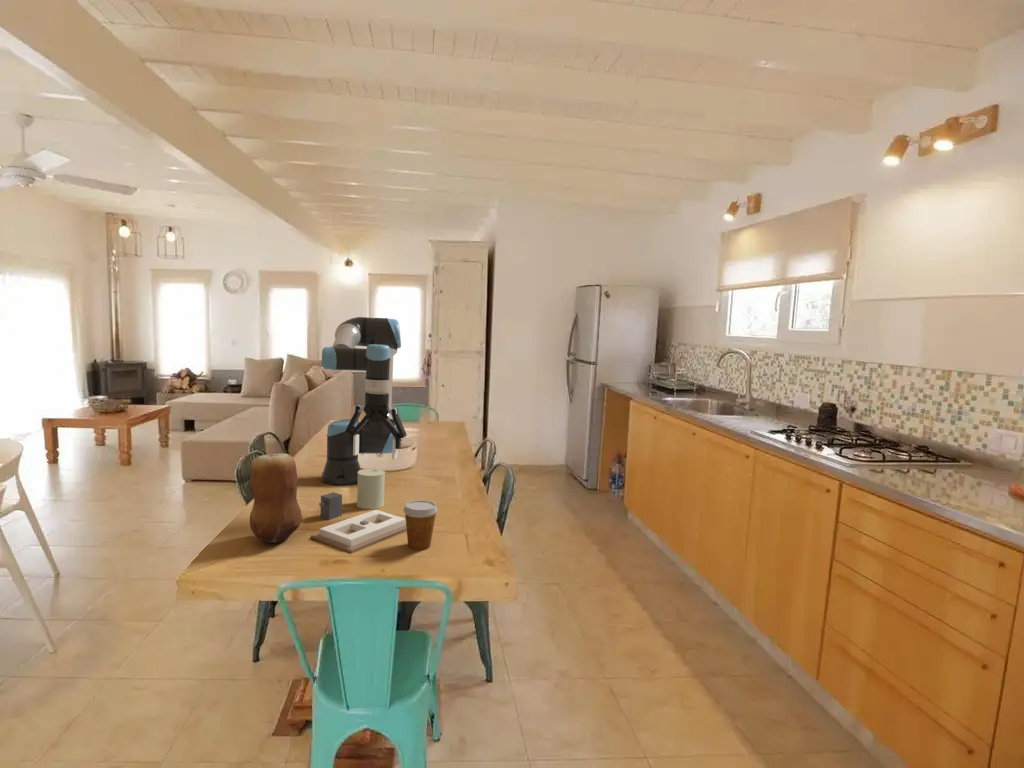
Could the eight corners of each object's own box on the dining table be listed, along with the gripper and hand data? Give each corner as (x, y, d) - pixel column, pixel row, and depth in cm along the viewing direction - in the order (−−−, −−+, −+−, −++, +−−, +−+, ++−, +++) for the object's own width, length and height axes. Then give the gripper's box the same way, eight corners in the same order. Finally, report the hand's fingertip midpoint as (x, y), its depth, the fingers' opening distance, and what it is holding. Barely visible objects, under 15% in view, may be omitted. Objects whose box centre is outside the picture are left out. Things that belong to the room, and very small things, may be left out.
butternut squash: (263, 530, 170) (263, 447, 167) (308, 533, 169) (309, 449, 167) (239, 549, 156) (239, 458, 153) (288, 552, 156) (289, 461, 153)
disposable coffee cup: (404, 539, 169) (405, 499, 168) (436, 539, 170) (438, 500, 168) (400, 552, 160) (401, 510, 158) (435, 552, 160) (437, 511, 159)
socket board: (310, 537, 166) (310, 526, 166) (374, 515, 187) (374, 505, 187) (351, 553, 157) (352, 541, 157) (414, 527, 178) (414, 517, 178)
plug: (315, 518, 182) (316, 497, 181) (333, 513, 187) (333, 492, 186) (324, 521, 179) (324, 499, 179) (341, 516, 185) (342, 494, 184)
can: (389, 503, 200) (390, 469, 199) (374, 511, 191) (375, 475, 190) (366, 499, 203) (367, 465, 202) (351, 506, 194) (351, 472, 193)
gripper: (335, 390, 186) (334, 455, 188) (409, 396, 181) (407, 462, 184) (346, 388, 193) (345, 450, 195) (417, 393, 189) (415, 457, 191)
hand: (375, 456), depth 189 cm, fingers open, 13 cm apart
